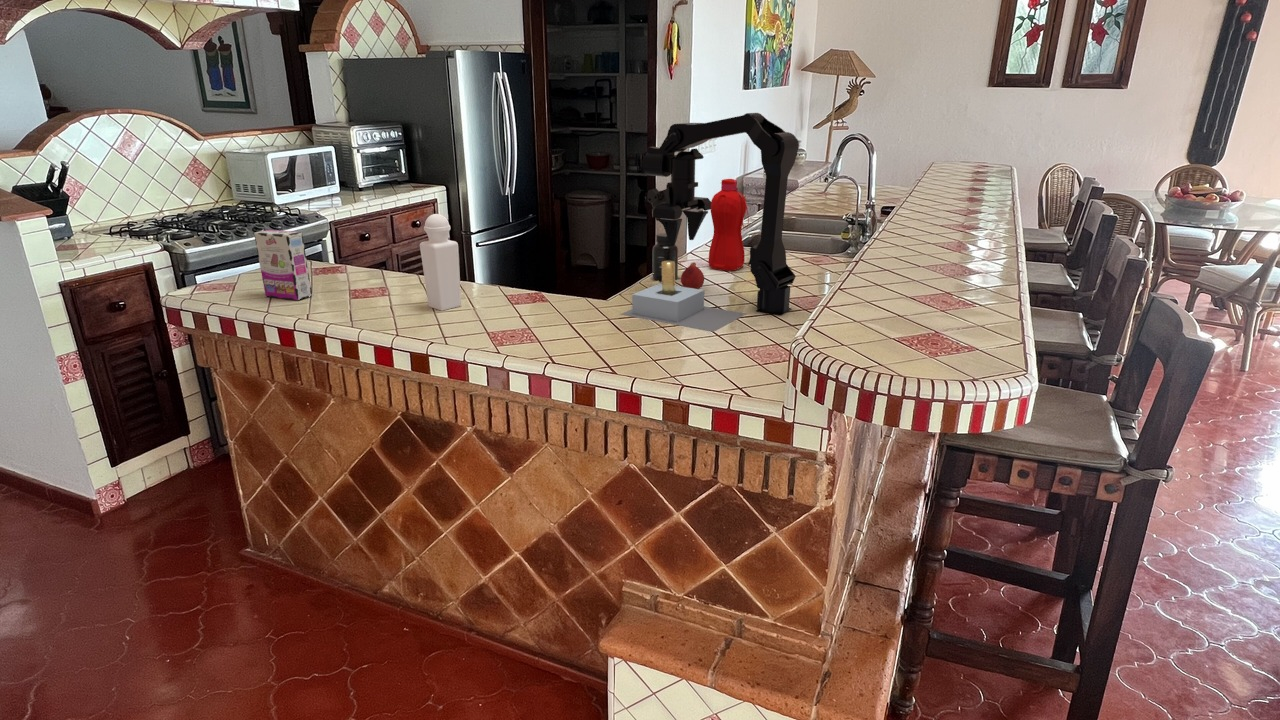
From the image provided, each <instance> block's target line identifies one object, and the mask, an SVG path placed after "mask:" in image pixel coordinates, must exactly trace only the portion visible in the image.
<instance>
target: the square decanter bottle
mask: <svg viewBox="0 0 1280 720" xmlns="http://www.w3.org/2000/svg"><path fill="white" fill-rule="evenodd" d="M423 231H424V232H425V233H426V236H427V237H428V240H425V241H422V242H420V243H419V250H420V256H421V261H422V262H421V263H422V269H423V276H424V283H425V290H426V297H427V302H428V307H429V308H432V309H435V310H438V311H442V312H444V311H447V310H450V309H451V308H452V309H456V308H459V306H460V307H461V306H462V297H461V295H462V293H461V277H460V275H461V274H460V254H459V244H458V242H457V241H456V240H450V239H449V233H450V231H451V225H450V223H449V221H448V219H447V217H445V216H444V215H442V214H440V213H434V214H430V215H429V216H428V217H427V218H426V220H425V222H424V226H423ZM455 307H456V308H455Z"/></svg>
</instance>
